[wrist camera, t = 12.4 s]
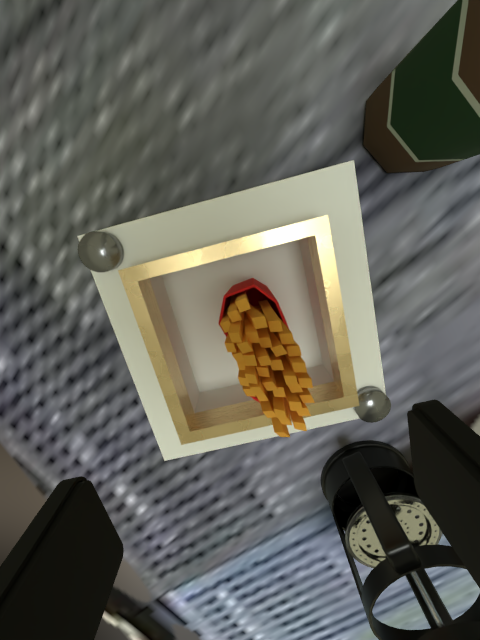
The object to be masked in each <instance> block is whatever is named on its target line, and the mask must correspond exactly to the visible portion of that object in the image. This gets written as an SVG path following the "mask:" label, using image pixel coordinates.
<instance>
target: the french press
mask: <svg viewBox="0 0 480 640" xmlns="http://www.w3.org/2000/svg"><path fill="white" fill-rule="evenodd" d="M374 468H394V469H397V472H398V480H397V483H396V486H395V488H394V489H393V491H392V492H390V493H383V492H382V490H381V489H380V487H379V485H378V483H377V481H376V480H375V478H374V476H373V474H372V472H371V471H370V469H374ZM349 479H351V481H352V483H353V485H354V487H355V489H356V492H357V494H358V496H359V498H360V500H361V504H360V505H354V504H351V503H348V502H346V501H344V500H343V499H342V498H340V497H339V496H338V494H337V493H338V491H339V490H340V488H341V487H342V486H343V485H344V483H345V482H347V481H348V480H349ZM321 485H322V490H323V493H324V495H325V497H326V499H327V500H328V502H329V505H330V508H331V511H332V514H333V517H334V520H335V523H336V526H337V529H338V532H339V535H340V538H341V541H342V544H343V547H344V550H345V553H346V556H347V559H348V562H349V565H350V568H351V571H352V574H353V577H354V579H355V582H356V585H357V588H358V591H359V594H360V597H361V600H362V603H363V606H364V609H365V612H366V615H367V618H368V621H369V624H370V627H371V629H372V631H373V633H374V635H375V636H376V637H377V638H378V639H379V640H480V594H479V596H478V598H477V600H476V601H475V603H474V604H473V605H472V606H471V607H470V609H468V610H467V611H466V612H465V613H464V614H462V615H461V616H459V617H458V618H456V619H455V620H452V618H451V616H450V614H449V613H448V611H447V609H446V607H445V605H444V604H443V602H442V600H441V598H440V596H439V595H438V593H437V591H436V589H435V587H434V586H433V584H432V582H431V580H430V578H429V577H428V575H427V573H426V571H425V568H431V567H439V566H452V567H460V568H464V569H467V568H466V567H465V565H464V564H463V562H462V561H461V559H460V558H459V556H458V555H457V554H456V552H455V551H454V549H453V548H452V547H451V546H445V545H438V543H439V541H440V538H441V535H442V531H441V530H440V528H439V527H438V525H437V524H436V522H435V521H434V519H433V518H432V516H431V515H430V513H429V512H428V510H427V509H426V507H425V506H424V504H423V503H422V501H421V500H420V498H419V496H418V494H417V491H416V488H415V484H414V474H413V472H412V471H411V469H410V468H409V465H408V462H407V461H406V459H405V458H404V456H403V455H402V454H401V453H400V452H399V451H398V450H397V449H395V448H394V447H392V446H390V445H388V444H385V443H382V442H377V441H362V442H357V443H353V444H350V445H348V446H346V447H344V448H342V449H340V450H339V451H337V452H336V453H335V454H334V455H333V456H332V457H331V458H330V459H329V460H328V461H327V463H326V465H325V467H324V469H323V472H322V475H321ZM343 530H344V531H345V534H344V531H343ZM353 557H354V558H355V559H356V560H357V561H358V562H360V563H361V564H363V565H365V566H368V567H371V568H374V569H373V570H372V571H371V572H370V574H369V575H368V577H367V578H366V580H365V582H364V585H362V582H361V579H360V576H359V573H358V570H357V568H356V565H355V562H354V559H353ZM403 576H406V578H407V580H408V582H409V584H410V586H411V588H412V590H413V592H414V594H415V596H416V598H417V600H418V602H419V604H420V606H421V608H422V610H423V612H424V614H425V617H426V619H427V621H428V623H429V625H430V627H431V628H430V629H423V630H404V629H397V628H394V627H390V626H388V625H386V624H383V623H381V622H380V621H378V620H377V619H376V618H374V616H373V613H372V609H373V606H374V604H375V602H376V600H377V598H378V597H379V596H380V594H381V593H382V592H383V591H384V590H385V589H386V588H387V587H388V586H389V585H390V584H392V583H393V582H395V581H396V580H398V579H399V578H401V577H403Z"/></svg>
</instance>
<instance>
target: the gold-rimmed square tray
mask: <svg viewBox="0 0 480 640" xmlns="http://www.w3.org/2000/svg"><path fill="white" fill-rule="evenodd" d="M78 239H79V245H78V253H79V257H80V259H81V261H82V263H83V264H84V265H85V266H86V267H87V268H89V269H90V270H91V272H92V275H93V278H94V280H95V283H96V285H97V288H98V291H99V293H100V296H101V298H102V301H103V303H104V306H105V309H106V311H107V314H108V316H109V319H110V321H111V324H112V327H113V329H114V332H115V334H116V337H117V339H118V342H119V345H120V347H121V350H122V352H123V355H124V358H125V360H126V363H127V365H128V368H129V370H130V373H131V376H132V378H133V381H134V383H135V386H136V388H137V391H138V394H139V396H140V399H141V401H142V404H143V406H144V409H145V412H146V414H147V417H148V419H149V422H150V425H151V427H152V430H153V432H154V435H155V437H156V440H157V443H158V445H159V448H160V450H161V453H162V455H163V458H164V461H166V460H170V459H175V458H180V457H184V456H189V455H193V454H198V453H203V452H207V451H212V450H216V449H221V448H226V447H230V446H235V445H239V444H244V443H249V442H253V441H258V440H262V439H267V438H272V437H276V436H279V435H277V434H276V433H275V432H274V428H273V424H272V420H271V418H267V417H266V415H265V414H264V413H263V411H262V408H261V405H260V403H259V402H258V401H256V400H254V399H253V398H251V397H250V396H246V394H245V392H244V391H243V389H242V387H243V386H242V385H240V382H239V379H238V373H239V368H238V365H237V361H236V360H235V358H234V357H233V355H232V352H227V349H226V346H225V340H226V336H225V334H224V332H223V331H222V329H221V327H220V326H219V324H218V323H219V318H220V313H221V307H222V302H223V297H224V295H225V294H226V293H227V292H228V290H229V289H230V288H231V287H232V286H233V285H235V284H238V283H240V282H243V281H245V280H248V279H251V278H254V279H256V280H258V281H259V282H261V283H263V284H265V285H266V286H267V287H268V288H269V290H270V291H271V292H272V294H273V295H274V297H275V298H276V300H277V301H278V303H279V306H280V308H281V310H282V313H283V315H284V317H285V320H286V322H287V325H288V327H289V330H290V331H291V332H292V335H293V339H294V341H295V342H296V343H297V344H298V345H299V347H300V350H301V354H302V356H301V358H302V359H303V360H304V362H305V364H306V369H307V373H308V375H309V376H310V377H311V379H312V385H313V388H308V390H309V392H310V394H311V396H312V398H313V400H314V402H315V403H305V405H306V406H307V408H308V410H309V412H310V415H311V416H302V417H303V419H304V422H305V424H306V430H308V429H313V428H318V427H322V426H327V425H331V424H336V423H341V422H345V421H350V420H354V419H359V418H360V419H362V420H363V421H366V422H377V421H380V420H382V419H383V418H385V417H386V416H387V415H388V413H389V411H390V408H391V403H390V400H389V398H388V397H387V396H386V392H385V385H384V378H383V370H382V363H381V356H380V348H379V341H378V334H377V326H376V319H375V312H374V304H373V297H372V290H371V282H370V275H369V268H368V260H367V253H366V246H365V238H364V231H363V224H362V216H361V209H360V202H359V194H358V187H357V180H356V172H355V165H354V160H352V161H349V162H345V163H342V164H338V165H334V166H331V167H327V168H323V169H320V170H316V171H312V172H309V173H305V174H302V175H298V176H294V177H291V178H287V179H283V180H280V181H276V182H272V183H269V184H265V185H261V186H258V187H254V188H251V189H247V190H243V191H240V192H236V193H232V194H229V195H225V196H221V197H218V198H214V199H211V200H207V201H203V202H200V203H196V204H192V205H189V206H185V207H181V208H178V209H174V210H170V211H167V212H163V213H160V214H156V215H152V216H149V217H145V218H141V219H138V220H134V221H130V222H127V223H123V224H119V225H116V226H112V227H109V228H105V229H101V230H98V231H93V232H89V233H87V234H83V235H79V236H78ZM290 418H291V416H290ZM291 422H292V419H291ZM287 428H288V432H289V434H290V433H295V432H299V431H303V430H298V429H295V428H294V425H293V422H292V425H287Z"/></svg>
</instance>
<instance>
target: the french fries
mask: <svg viewBox="0 0 480 640" xmlns="http://www.w3.org/2000/svg"><path fill="white" fill-rule="evenodd" d="M218 324H219V326H220V327H221V329H222V331H223V332H224V334H225V336H226V340H225V346H226V349H227V352H232V355H233V357H234V358H235V360H236V361H237V365H238V368H239V373H238V379H239V382H240V385H242V386H243V387H242V389H243V391H244V392H245V394H246V396H250V397H251V398H253V399H254V400H256V401H258V402H259V403H260V405H261V408H262V411H263V413H264V414H265V415H266V417H267V418H271V420H272V424H273V428H274V432H275V433H276V434H277V435H279V436H280V437H290V435H289V432H288V428H287V425H292V422H293V425H294V428H295V429H298V430H303V431H307V430H306V424H305V422H304V419H303V417H302V416H311V415H310V412H309V410H308V408H307V406H306V405H305V403H315V402H314V400H313V398H312V396H311V394H310V392H309V390H308V388H313V385H312V379H311V377H310V376H309V375H308V373H307V369H306V364H305V362H304V360H303V359H302V358H301V356H302V354H301V350H300V347H299V345H298V344H297V343H296V342H295V341H294V339H293V335H292V332H291V331H290V330H289V327H288V325H287V322H286V320H285V317H284V315H283V313H282V310H281V308H280V306H279V303H278V301H277V300H276V298H275V297H274V295H273V294H272V292H271V291H270V290H269V288H268V287H267V286H266V285H265V284H263V283H261V282H259V281H258V280H256V279H254V278H251V279H248V280H245V281H243V282H240V283H238V284H235V285H233V286H232V287H231V288H230V289H229V290H228V292H227V293H226V294H225V295H224V297H223V302H222V307H221V313H220V318H219V323H218ZM290 416H291V418H290ZM291 419H292V422H291Z"/></svg>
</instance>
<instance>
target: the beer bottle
mask: <svg viewBox="0 0 480 640" xmlns="http://www.w3.org/2000/svg"><path fill="white" fill-rule="evenodd" d="M363 145H364V146H365V147H366V148H367V150H368V151H369V152H370V153H371V154H372V156H373V157H374V158H375V159H376V160H377V161H378V163H379V164H380V165H381V166H382V167H383V169H384V170H385V171H386V172H387V173H396V172H424V171H428V170H433V169H437V168H440V167H443V166H446V165H449V164H452V163H455V162H458V161H461V160H464V159H467V158H470V157H473V156H476V155H479V154H480V0H458V1H457V2H456V3H455V4H454V5H453V6H452V7H451V8H450V9H449V10H448V11H447V12H446V14H445V15H444V16H443V17H442V18H441V19H440V20H439V21H438V22H437V23H436V24H435V25H434V26H433V28H432V29H431V30H430V31H429V32H428V33H427V34H426V35H425V36H424V37H423V38H422V39H421V40H420V42H419V43H418V44H417V45H416V46H415V47H414V48H413V49H412V50H411V51H410V52H409V53H408V54H407V56H406V57H405V58H404V59H403V60H402V61H401V62H400V63H399V64H398V65H397V67H396V68H395V69H394V70H393V71H392V72H391V73H390V74H389V75H388V76H387V78H386V79H385V80H384V81H383V82H382V83H381V84H380V85H379V86H378V87H377V89H376V90H375V91H374V92H373V94H372V95H371V96H370V97H369V99H368V100H367V101H366V114H365V128H364V142H363Z"/></svg>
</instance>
